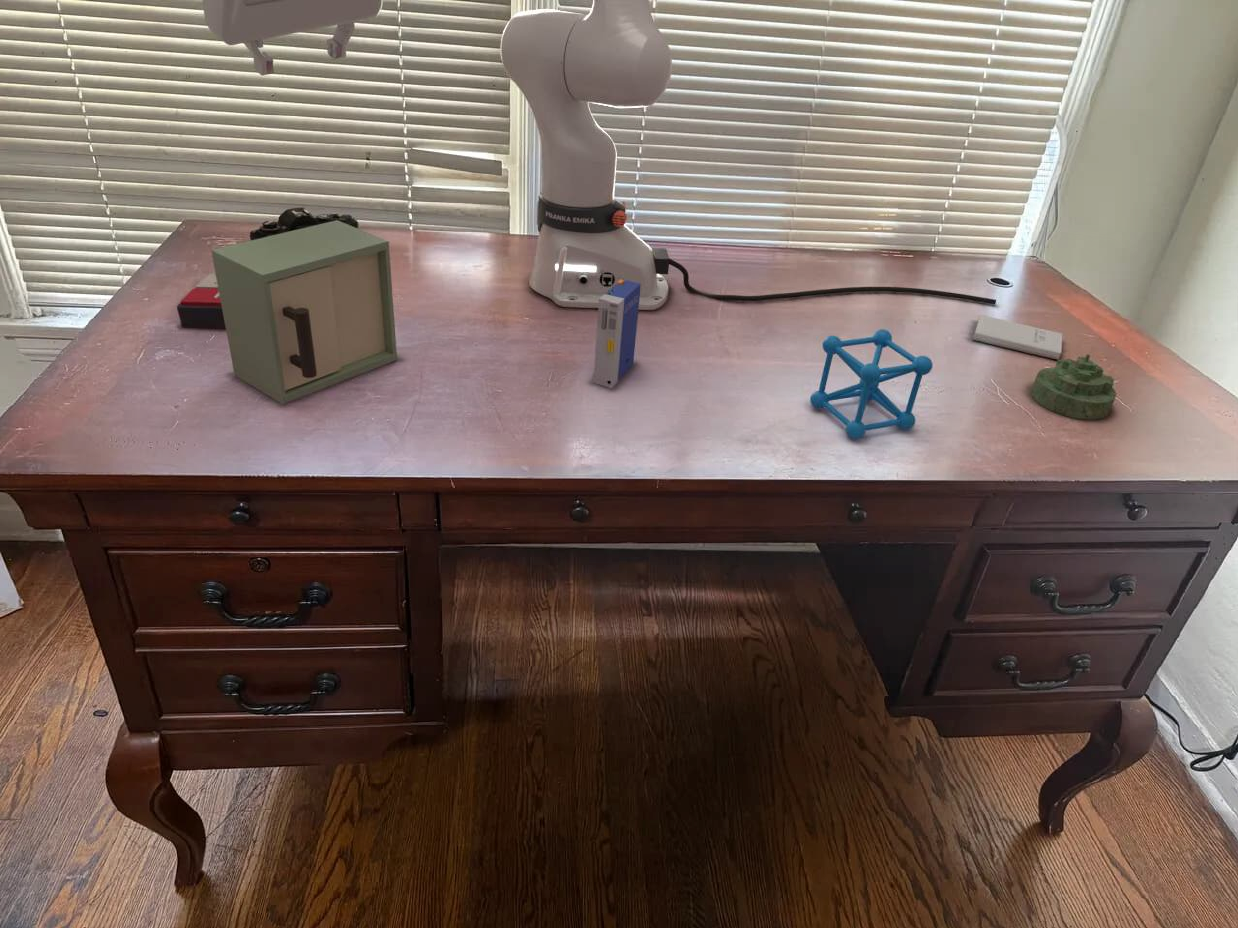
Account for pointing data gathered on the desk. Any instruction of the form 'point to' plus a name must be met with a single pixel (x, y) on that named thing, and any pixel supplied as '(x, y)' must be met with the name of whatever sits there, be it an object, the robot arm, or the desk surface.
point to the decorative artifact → (1075, 389)
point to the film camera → (298, 222)
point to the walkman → (616, 332)
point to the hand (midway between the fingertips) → (301, 64)
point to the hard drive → (1018, 337)
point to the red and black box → (202, 305)
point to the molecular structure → (870, 382)
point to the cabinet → (355, 294)
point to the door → (305, 326)
